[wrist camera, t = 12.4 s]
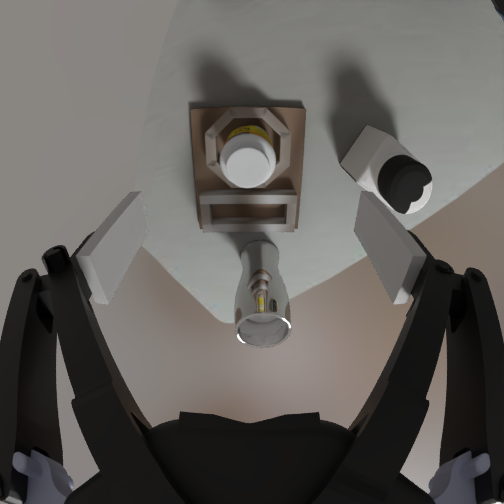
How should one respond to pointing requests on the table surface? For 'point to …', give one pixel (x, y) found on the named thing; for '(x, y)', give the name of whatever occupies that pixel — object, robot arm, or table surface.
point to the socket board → (256, 198)
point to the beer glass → (261, 298)
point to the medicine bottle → (388, 171)
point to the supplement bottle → (248, 156)
